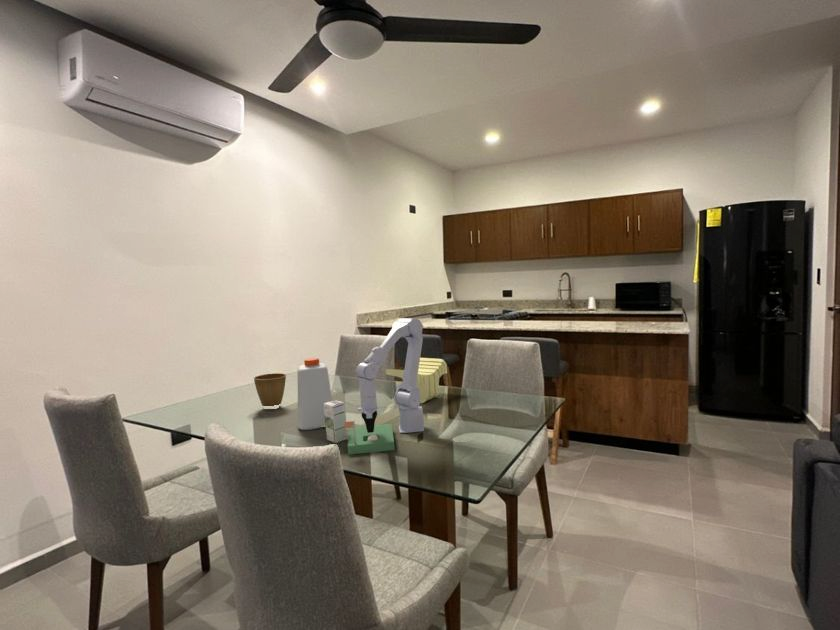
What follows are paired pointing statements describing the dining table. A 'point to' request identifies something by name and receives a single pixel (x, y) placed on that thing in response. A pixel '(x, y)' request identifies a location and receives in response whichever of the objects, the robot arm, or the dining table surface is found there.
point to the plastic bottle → (312, 394)
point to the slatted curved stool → (426, 376)
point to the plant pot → (270, 388)
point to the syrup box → (335, 421)
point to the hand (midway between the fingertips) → (370, 431)
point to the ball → (372, 438)
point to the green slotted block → (360, 437)
